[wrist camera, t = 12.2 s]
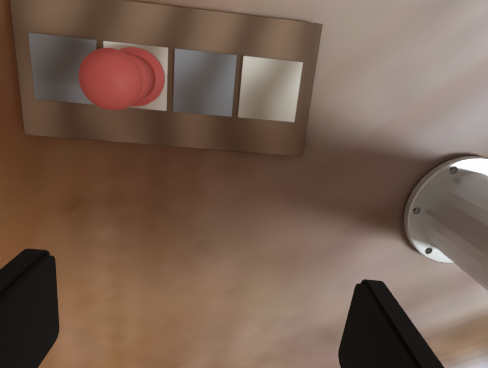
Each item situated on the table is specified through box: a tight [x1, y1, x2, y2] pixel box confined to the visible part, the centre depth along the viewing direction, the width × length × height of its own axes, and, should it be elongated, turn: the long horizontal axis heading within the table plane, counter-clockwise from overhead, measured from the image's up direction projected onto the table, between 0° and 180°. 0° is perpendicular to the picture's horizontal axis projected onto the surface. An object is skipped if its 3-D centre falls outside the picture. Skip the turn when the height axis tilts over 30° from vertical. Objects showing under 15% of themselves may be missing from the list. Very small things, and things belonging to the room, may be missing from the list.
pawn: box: [78, 47, 165, 110], centre depth 25 cm, size 5×5×10 cm
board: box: [10, 0, 323, 156], centre depth 31 cm, size 26×12×1 cm, turn 85°
